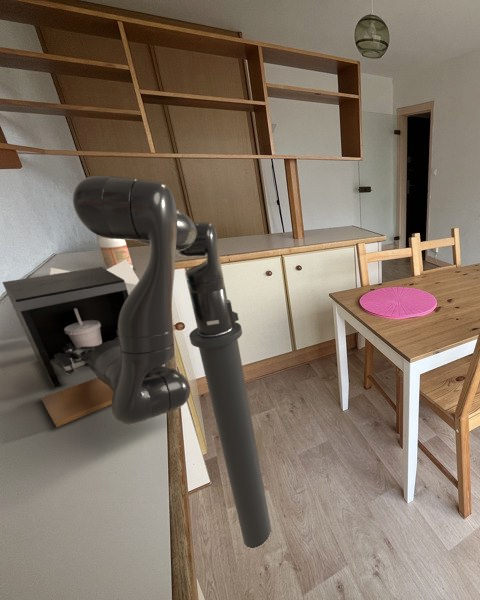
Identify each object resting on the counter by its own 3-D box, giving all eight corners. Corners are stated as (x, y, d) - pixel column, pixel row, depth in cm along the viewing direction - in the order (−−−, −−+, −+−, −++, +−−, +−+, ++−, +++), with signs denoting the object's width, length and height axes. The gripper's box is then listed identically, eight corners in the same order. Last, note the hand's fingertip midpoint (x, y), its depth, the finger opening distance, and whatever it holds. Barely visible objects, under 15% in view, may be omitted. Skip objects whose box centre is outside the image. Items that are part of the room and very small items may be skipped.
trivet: (116, 374, 74) (114, 371, 74) (135, 394, 68) (133, 390, 67) (42, 401, 65) (40, 397, 64) (56, 427, 58) (54, 423, 58)
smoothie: (105, 350, 83) (88, 302, 78) (116, 357, 81) (99, 307, 75) (73, 361, 78) (52, 310, 73) (83, 369, 75) (62, 316, 70)
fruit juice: (104, 273, 143) (83, 211, 133) (113, 268, 151) (94, 208, 141) (129, 272, 147) (110, 211, 136) (136, 267, 155) (120, 208, 144)
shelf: (124, 336, 91) (101, 266, 83) (147, 356, 82) (124, 279, 74) (38, 362, 78) (2, 282, 70) (55, 388, 69) (15, 299, 61)
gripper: (156, 334, 67) (128, 315, 75) (63, 363, 56) (43, 337, 64) (164, 364, 70) (137, 342, 78) (78, 397, 59) (56, 367, 67)
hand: (95, 339), depth 71 cm, fingers open, 8 cm apart
